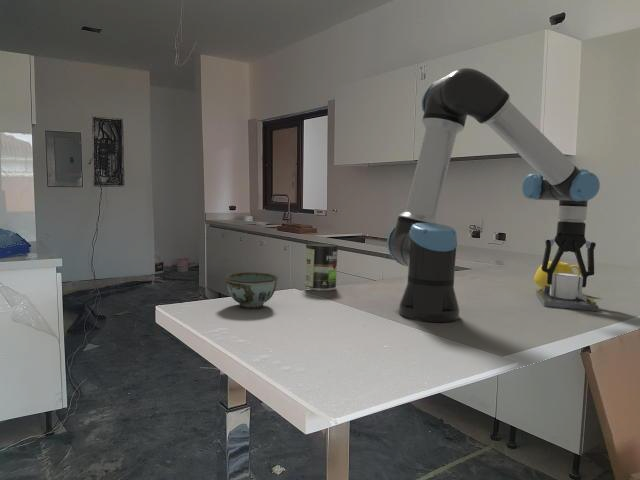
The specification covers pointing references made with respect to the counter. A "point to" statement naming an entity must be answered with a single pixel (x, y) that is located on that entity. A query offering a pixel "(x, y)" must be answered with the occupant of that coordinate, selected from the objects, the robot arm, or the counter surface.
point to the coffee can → (321, 266)
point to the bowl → (251, 288)
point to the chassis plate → (549, 302)
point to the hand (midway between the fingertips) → (565, 296)
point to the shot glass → (566, 285)
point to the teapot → (560, 268)
